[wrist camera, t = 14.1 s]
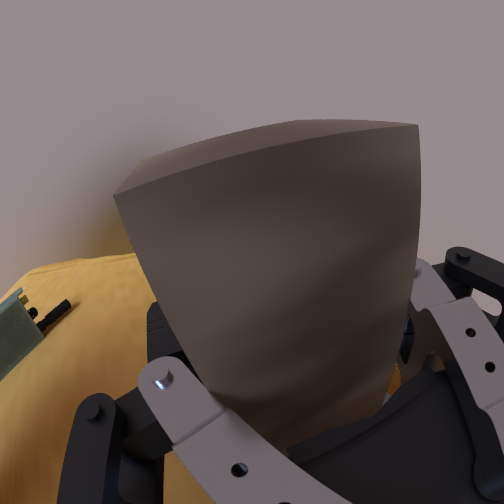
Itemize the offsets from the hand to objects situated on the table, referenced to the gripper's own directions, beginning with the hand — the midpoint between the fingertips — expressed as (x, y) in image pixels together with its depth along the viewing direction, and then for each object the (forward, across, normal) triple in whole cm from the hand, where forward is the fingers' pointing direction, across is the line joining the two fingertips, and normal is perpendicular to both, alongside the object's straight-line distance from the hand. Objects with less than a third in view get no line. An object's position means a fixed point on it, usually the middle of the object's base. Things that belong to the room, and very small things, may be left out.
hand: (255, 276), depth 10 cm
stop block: (-3, 0, +9) cm, 9 cm away
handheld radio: (+12, +29, +10) cm, 33 cm away
